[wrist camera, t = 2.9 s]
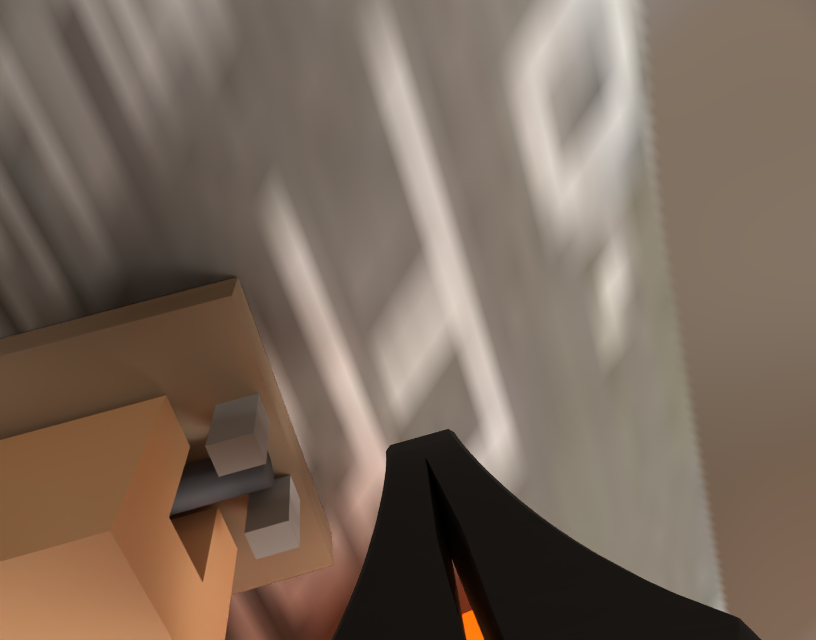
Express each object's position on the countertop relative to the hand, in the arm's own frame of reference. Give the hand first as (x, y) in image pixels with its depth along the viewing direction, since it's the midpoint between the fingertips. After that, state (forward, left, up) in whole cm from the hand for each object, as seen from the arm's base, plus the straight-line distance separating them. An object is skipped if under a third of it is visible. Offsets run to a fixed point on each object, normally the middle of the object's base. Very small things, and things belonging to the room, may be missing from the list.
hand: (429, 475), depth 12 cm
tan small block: (0, +7, -2) cm, 7 cm away
